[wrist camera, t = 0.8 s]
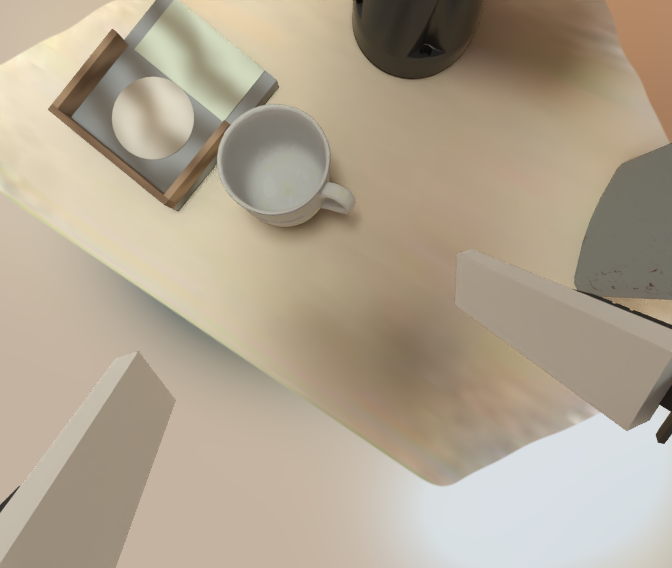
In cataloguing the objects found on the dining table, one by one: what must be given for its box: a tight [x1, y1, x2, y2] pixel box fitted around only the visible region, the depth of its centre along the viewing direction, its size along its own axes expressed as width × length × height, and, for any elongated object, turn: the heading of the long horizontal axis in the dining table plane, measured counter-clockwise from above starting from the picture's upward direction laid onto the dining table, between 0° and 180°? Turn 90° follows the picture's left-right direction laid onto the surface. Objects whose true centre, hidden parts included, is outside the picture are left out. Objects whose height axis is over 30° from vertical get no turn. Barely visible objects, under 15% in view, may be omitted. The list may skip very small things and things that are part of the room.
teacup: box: [217, 104, 355, 227], centre depth 27 cm, size 14×11×8 cm
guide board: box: [48, 0, 279, 211], centre depth 30 cm, size 20×18×2 cm
